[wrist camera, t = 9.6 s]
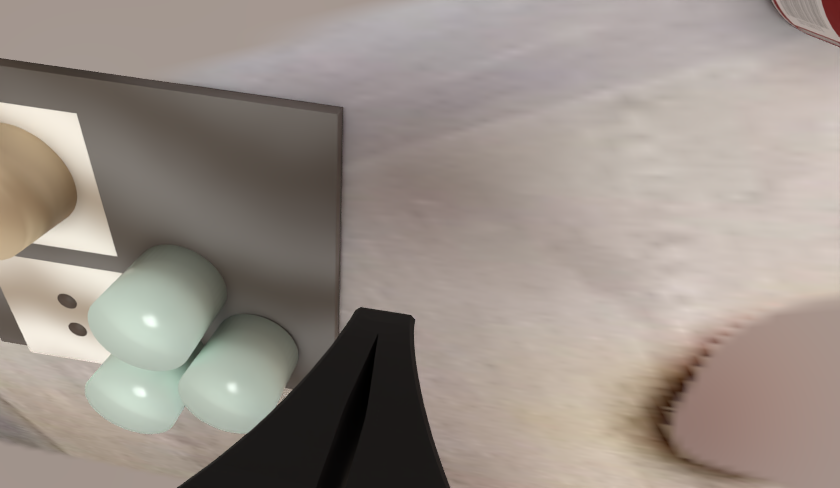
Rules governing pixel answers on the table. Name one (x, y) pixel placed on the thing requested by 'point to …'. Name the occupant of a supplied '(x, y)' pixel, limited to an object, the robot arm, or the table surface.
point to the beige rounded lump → (30, 190)
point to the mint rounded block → (137, 395)
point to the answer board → (177, 203)
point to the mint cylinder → (159, 308)
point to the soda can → (813, 17)
